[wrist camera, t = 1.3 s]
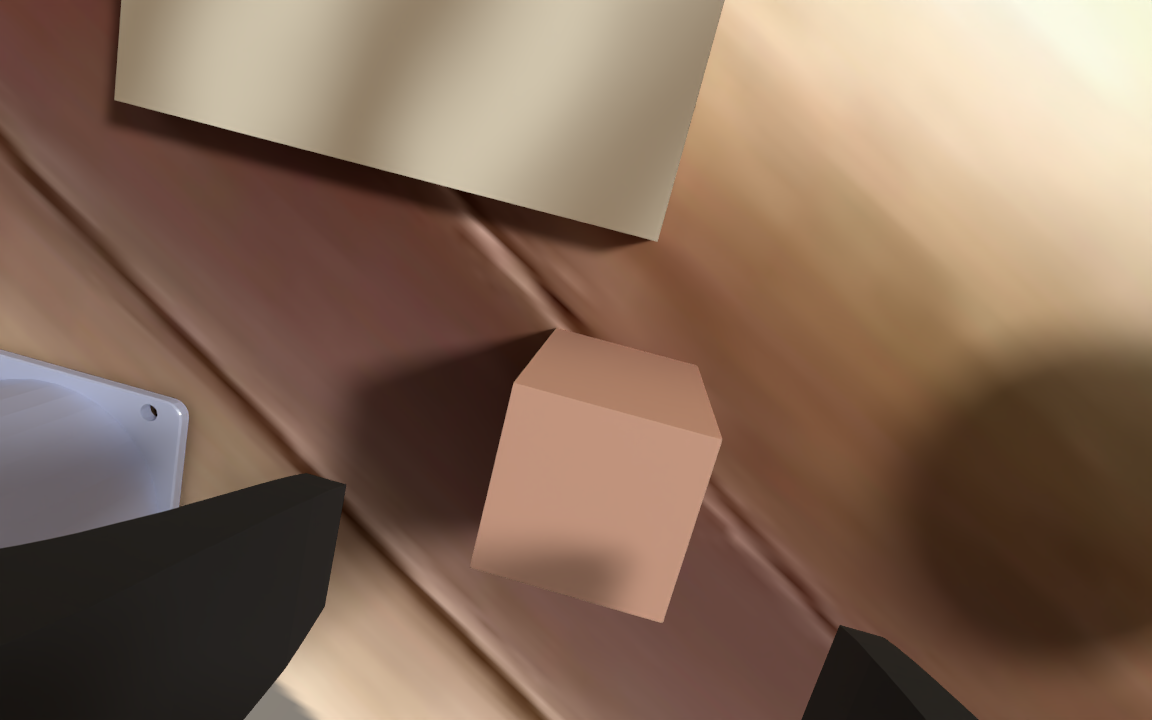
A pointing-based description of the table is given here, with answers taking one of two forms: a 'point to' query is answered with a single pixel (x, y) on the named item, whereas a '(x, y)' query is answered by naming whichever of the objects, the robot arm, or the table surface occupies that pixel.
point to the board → (445, 89)
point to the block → (599, 474)
